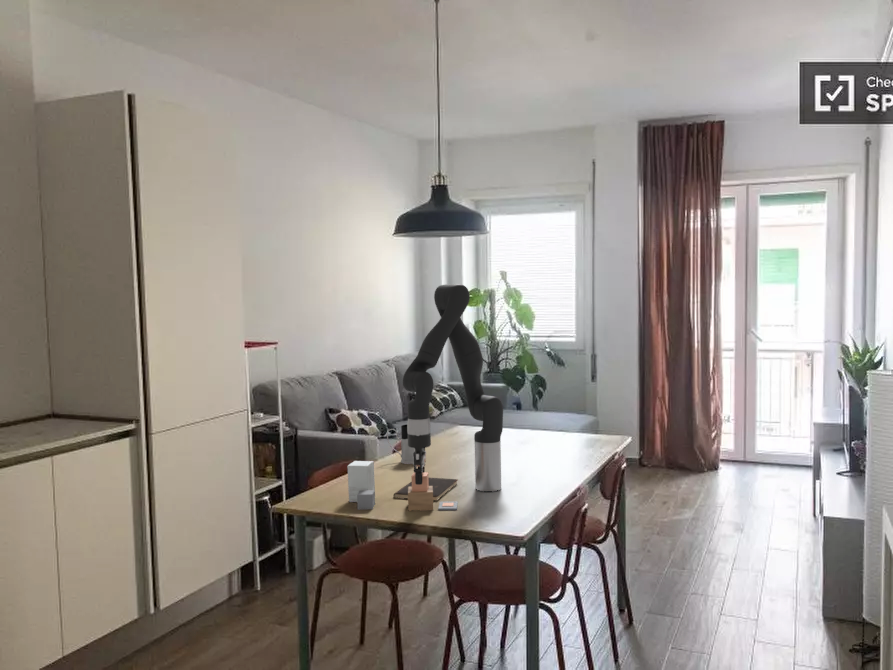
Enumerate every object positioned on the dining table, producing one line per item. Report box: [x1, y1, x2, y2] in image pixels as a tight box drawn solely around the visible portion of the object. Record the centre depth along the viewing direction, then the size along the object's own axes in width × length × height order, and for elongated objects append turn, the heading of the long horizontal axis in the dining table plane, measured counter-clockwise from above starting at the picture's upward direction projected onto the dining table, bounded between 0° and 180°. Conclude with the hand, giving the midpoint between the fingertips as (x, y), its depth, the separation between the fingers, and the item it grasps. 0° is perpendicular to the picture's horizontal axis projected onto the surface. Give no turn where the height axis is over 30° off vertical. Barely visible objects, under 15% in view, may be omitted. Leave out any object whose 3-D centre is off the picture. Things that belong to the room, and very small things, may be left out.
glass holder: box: [386, 423, 415, 465], centre depth 315 cm, size 9×14×15 cm, turn 88°
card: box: [437, 500, 459, 511], centre depth 248 cm, size 8×6×1 cm
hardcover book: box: [393, 477, 459, 501], centre depth 269 cm, size 16×23×2 cm
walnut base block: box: [407, 486, 434, 511], centre depth 249 cm, size 8×8×6 cm
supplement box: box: [347, 460, 376, 503], centre depth 259 cm, size 7×7×13 cm
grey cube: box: [356, 489, 376, 510], centre depth 250 cm, size 5×5×5 cm
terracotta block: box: [411, 471, 430, 491], centre depth 248 cm, size 5×5×5 cm
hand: (420, 480), depth 248 cm, fingers open, 8 cm apart
